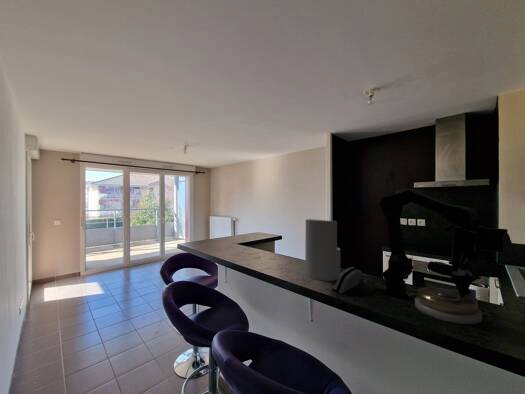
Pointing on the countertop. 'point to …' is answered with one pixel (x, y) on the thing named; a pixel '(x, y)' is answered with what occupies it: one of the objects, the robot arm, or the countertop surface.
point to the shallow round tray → (449, 300)
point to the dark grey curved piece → (347, 280)
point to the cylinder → (322, 250)
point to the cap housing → (449, 314)
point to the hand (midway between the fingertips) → (462, 296)
